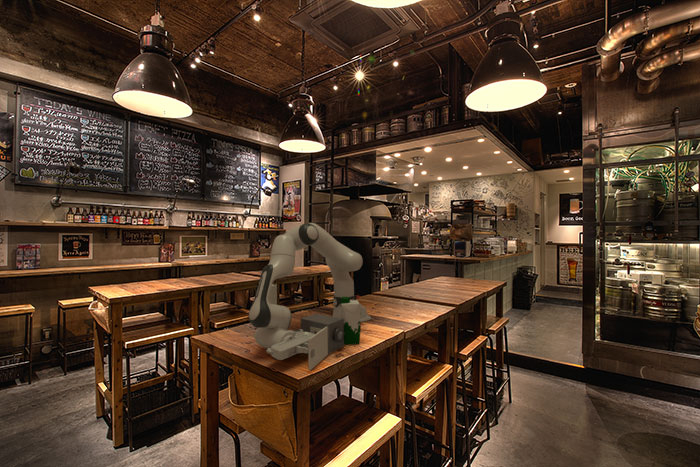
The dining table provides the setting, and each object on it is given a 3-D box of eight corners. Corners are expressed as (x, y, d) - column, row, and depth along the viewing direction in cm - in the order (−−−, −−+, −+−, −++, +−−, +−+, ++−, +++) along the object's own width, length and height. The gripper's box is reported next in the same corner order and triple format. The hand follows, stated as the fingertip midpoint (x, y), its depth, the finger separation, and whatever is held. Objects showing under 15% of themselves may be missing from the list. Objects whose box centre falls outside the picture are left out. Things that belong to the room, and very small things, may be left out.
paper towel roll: (263, 326, 166) (263, 286, 165) (263, 323, 171) (263, 284, 171) (277, 325, 167) (277, 285, 167) (277, 321, 173) (276, 283, 173)
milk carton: (340, 339, 144) (339, 295, 144) (359, 338, 145) (358, 295, 145) (341, 345, 135) (340, 299, 135) (361, 345, 136) (361, 299, 136)
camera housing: (300, 346, 136) (299, 318, 136) (316, 339, 144) (316, 313, 144) (331, 355, 125) (330, 325, 125) (347, 347, 133) (347, 319, 133)
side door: (311, 370, 111) (311, 339, 111) (308, 370, 111) (308, 338, 111) (330, 353, 126) (329, 326, 126) (327, 353, 126) (326, 325, 126)
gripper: (263, 342, 115) (288, 350, 107) (303, 328, 132) (328, 334, 123) (263, 359, 115) (288, 368, 107) (303, 342, 132) (328, 350, 123)
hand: (310, 350), depth 115 cm, fingers closed
